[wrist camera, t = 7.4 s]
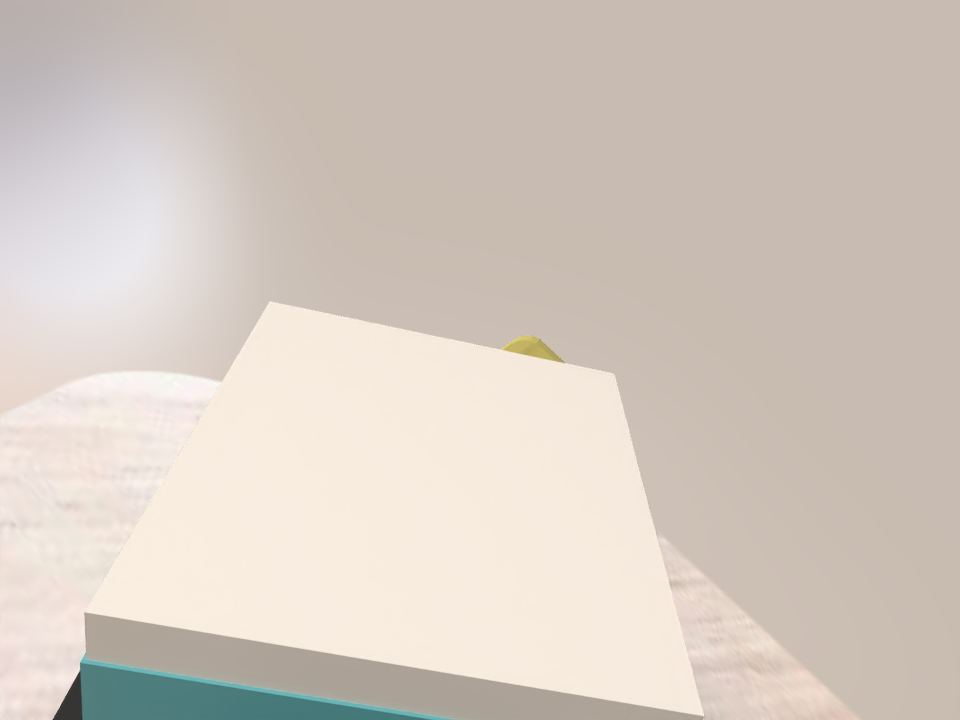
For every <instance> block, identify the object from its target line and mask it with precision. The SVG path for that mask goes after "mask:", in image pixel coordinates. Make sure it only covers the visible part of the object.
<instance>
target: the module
mask: <svg viewBox="0 0 960 720" xmlns="http://www.w3.org/2000/svg"><path fill="white" fill-rule="evenodd" d="M85 638H86V653H85V655H84V657H83V659H82V660H81V662H80V672H81V695H82V718H83V720H702V719H703V717H704V714H703V710H702V706H701V702H700V698H699V695H698V691H697V687H696V683H695V679H694V676H693V672H692V668H691V664H690V660H689V657H688V653H687V649H686V645H685V641H684V638H683V634H682V630H681V626H680V622H679V619H678V615H677V611H676V607H675V603H674V600H673V596H672V592H671V588H670V584H669V581H668V577H667V573H666V569H665V565H664V561H663V558H662V554H661V550H660V546H659V542H658V539H657V535H656V531H655V527H654V524H653V520H652V516H651V512H650V509H649V505H648V501H647V497H646V493H645V489H644V486H643V482H642V478H641V474H640V470H639V466H638V463H637V459H636V455H635V451H634V448H633V444H632V440H631V436H630V432H629V429H628V425H627V421H626V417H625V413H624V409H623V406H622V402H621V398H620V395H619V390H618V387H617V383H616V379H615V375H614V374H613V373H608V372H604V371H599V370H594V369H589V368H585V367H580V366H575V365H571V364H566V363H561V362H556V361H552V360H547V359H542V358H537V357H533V356H528V355H523V354H518V353H513V352H509V351H504V350H499V349H494V348H490V347H485V346H480V345H475V344H470V343H466V342H461V341H456V340H451V339H446V338H442V337H437V336H432V335H428V334H423V333H418V332H414V331H409V330H403V329H399V328H394V327H389V326H384V325H380V324H376V323H370V322H366V321H361V320H356V319H352V318H346V317H342V316H337V315H333V314H327V313H323V312H318V311H314V310H309V309H304V308H299V307H294V306H290V305H285V304H280V303H276V302H271V301H270V302H269V304H268V306H267V307H266V309H265V311H264V312H263V314H262V316H261V318H260V319H259V321H258V322H257V324H256V326H255V328H254V329H253V331H252V332H251V334H250V336H249V337H248V339H247V341H246V342H245V344H244V346H243V348H242V349H241V351H240V352H239V354H238V356H237V357H236V359H235V361H234V363H233V364H232V366H231V368H230V369H229V371H228V373H227V374H226V376H225V378H224V379H223V381H222V383H221V384H220V386H219V388H218V389H217V391H216V393H215V394H214V396H213V398H212V399H211V401H210V403H209V404H208V406H207V408H206V409H205V411H204V413H203V414H202V416H201V418H200V420H199V421H198V423H197V425H196V426H195V428H194V430H193V431H192V433H191V435H190V436H189V438H188V440H187V441H186V443H185V445H184V446H183V448H182V450H181V451H180V453H179V455H178V456H177V458H176V460H175V461H174V463H173V465H172V466H171V468H170V470H169V471H168V473H167V475H166V477H165V478H164V480H163V482H162V483H161V485H160V487H159V488H158V490H157V492H156V493H155V495H154V497H153V498H152V500H151V502H150V503H149V505H148V507H147V508H146V510H145V512H144V513H143V515H142V517H141V518H140V520H139V522H138V523H137V525H136V527H135V528H134V530H133V532H132V534H131V535H130V537H129V539H128V540H127V542H126V544H125V545H124V547H123V549H122V550H121V552H120V554H119V555H118V557H117V559H116V560H115V562H114V564H113V565H112V567H111V569H110V570H109V572H108V574H107V575H106V577H105V579H104V580H103V582H102V584H101V586H100V587H99V589H98V591H97V592H96V594H95V596H94V597H93V599H92V601H91V602H90V604H89V606H88V607H87V609H86V611H85Z"/></svg>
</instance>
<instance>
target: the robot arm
mask: <svg viewBox="0 0 960 720" xmlns="http://www.w3.org/2000/svg"><path fill="white" fill-rule="evenodd" d="M53 720H83V718H82V695H81V672H79V673H78V675H77V677H76V679H75V681H74V682H73V684H72V686H71V688H70V690H69V691H68V693H67V695H66V697H65V699H64V700H63V702H62V704H61V706H60V708H59V709H58V711H57V713H56V715H55V717H54V718H53Z"/></svg>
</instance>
